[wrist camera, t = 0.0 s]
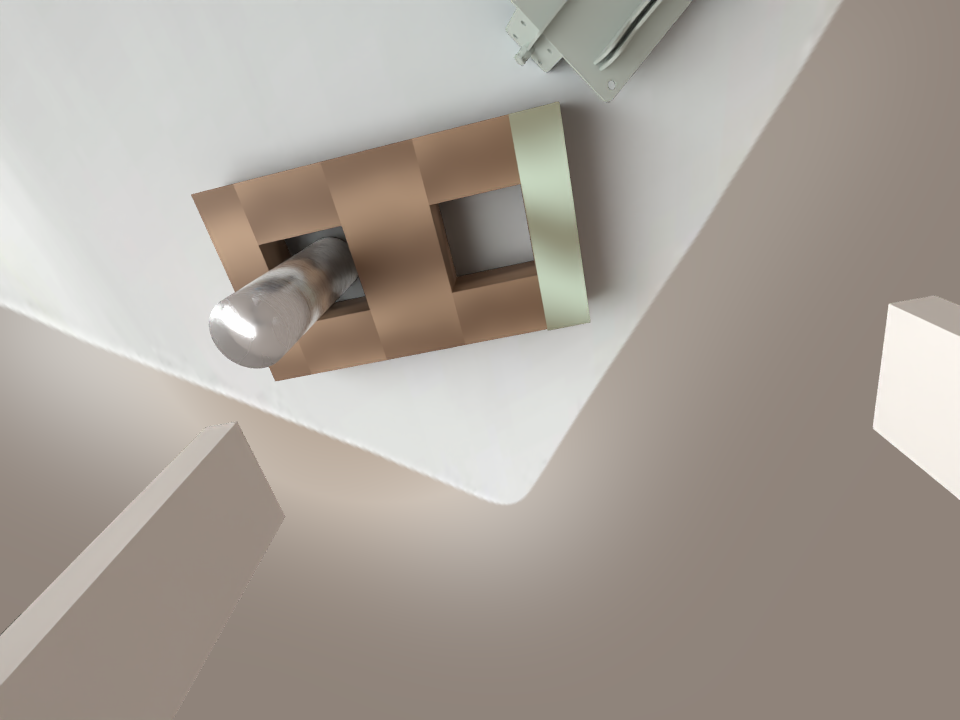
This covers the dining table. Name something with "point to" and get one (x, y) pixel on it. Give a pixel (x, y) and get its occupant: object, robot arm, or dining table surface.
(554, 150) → the pin plate
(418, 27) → the dining table surface
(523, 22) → the metal bracket
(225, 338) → the steel pin
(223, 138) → the dining table surface
